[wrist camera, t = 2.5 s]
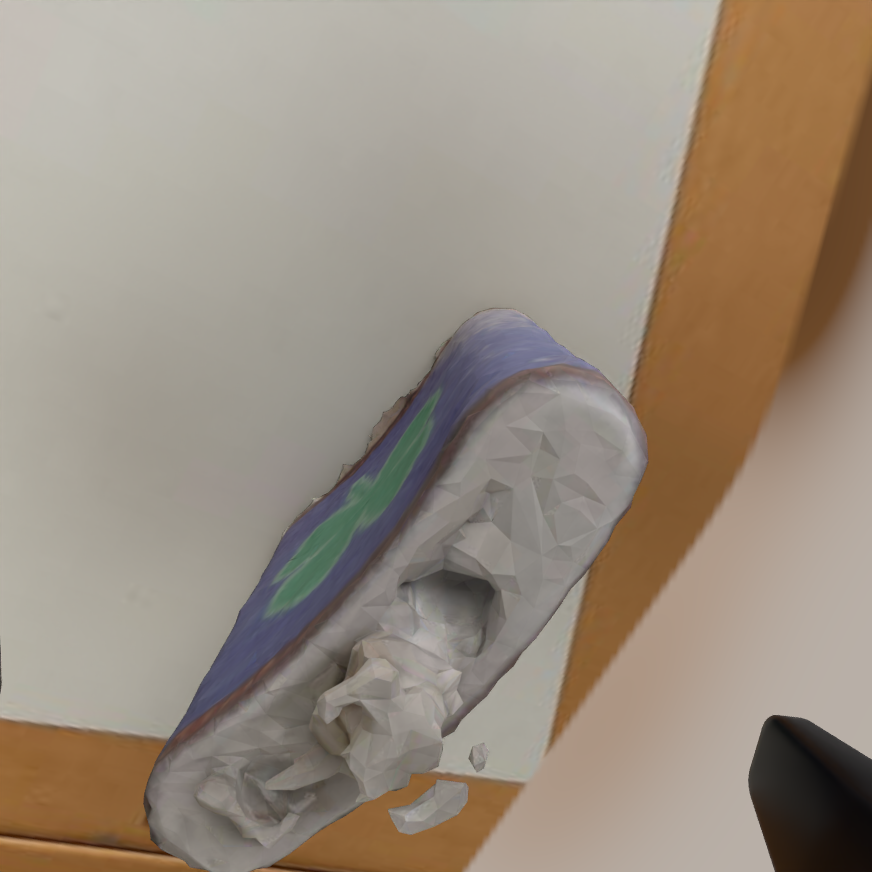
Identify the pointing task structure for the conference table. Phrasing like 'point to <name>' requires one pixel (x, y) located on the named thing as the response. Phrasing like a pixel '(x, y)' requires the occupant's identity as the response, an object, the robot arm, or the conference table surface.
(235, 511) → the conference table surface
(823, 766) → the robot arm
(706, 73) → the conference table surface
